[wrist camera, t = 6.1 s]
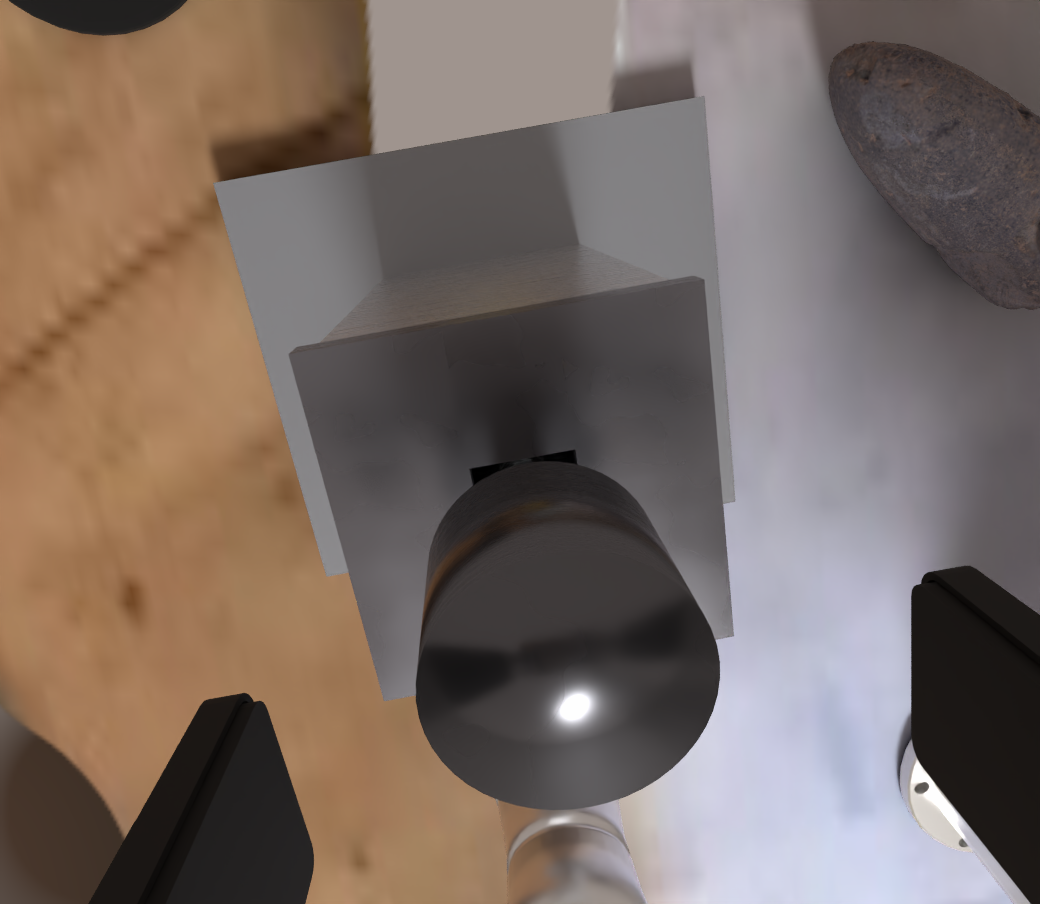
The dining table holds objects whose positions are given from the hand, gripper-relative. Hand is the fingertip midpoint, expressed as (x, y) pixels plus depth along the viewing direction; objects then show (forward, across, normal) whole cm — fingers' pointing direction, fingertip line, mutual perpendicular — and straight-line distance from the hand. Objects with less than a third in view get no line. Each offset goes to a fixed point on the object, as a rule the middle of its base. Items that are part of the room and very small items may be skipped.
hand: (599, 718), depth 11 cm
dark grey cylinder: (+20, +1, -1) cm, 20 cm away
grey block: (+24, +1, +1) cm, 24 cm away
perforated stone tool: (+25, -19, -5) cm, 32 cm away
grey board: (+25, +1, -1) cm, 25 cm away
